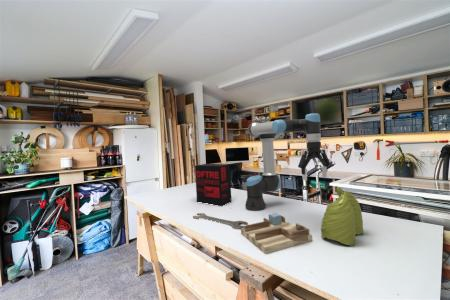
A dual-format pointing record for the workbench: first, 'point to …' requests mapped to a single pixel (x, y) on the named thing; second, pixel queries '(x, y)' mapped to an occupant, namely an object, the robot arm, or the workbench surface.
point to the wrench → (222, 221)
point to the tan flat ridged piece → (275, 235)
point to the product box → (213, 183)
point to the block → (275, 219)
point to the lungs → (342, 219)
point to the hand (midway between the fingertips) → (314, 179)
